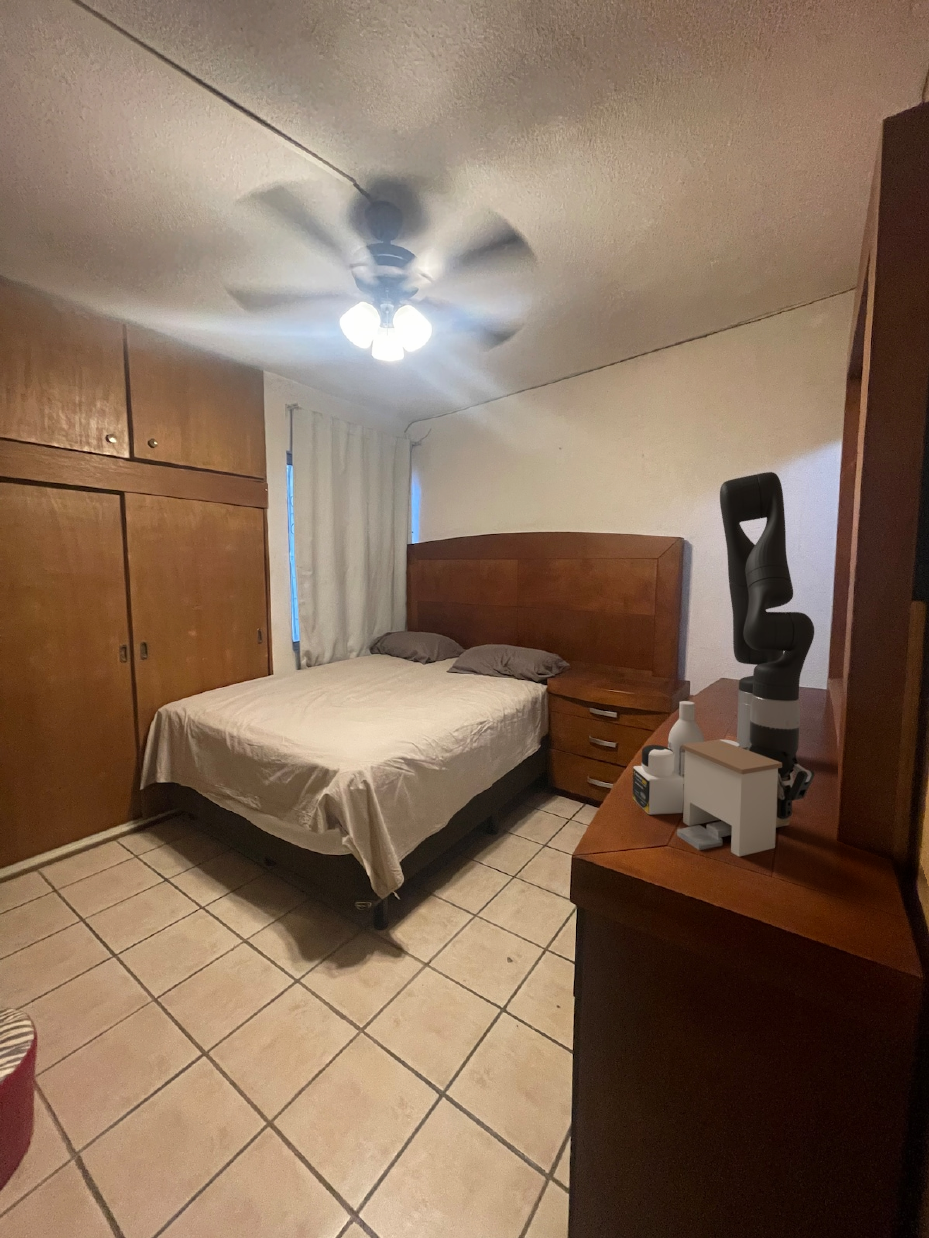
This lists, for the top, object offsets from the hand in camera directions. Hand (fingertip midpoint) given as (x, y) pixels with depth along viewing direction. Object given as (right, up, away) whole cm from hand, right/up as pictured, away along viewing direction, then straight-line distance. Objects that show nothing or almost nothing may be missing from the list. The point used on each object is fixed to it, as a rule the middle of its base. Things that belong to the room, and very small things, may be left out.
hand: (770, 811), depth 87 cm
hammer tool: (-6, -2, -2) cm, 6 cm away
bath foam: (-10, -2, +13) cm, 16 cm away
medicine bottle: (-18, -2, +8) cm, 20 cm away
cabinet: (-10, -3, -3) cm, 11 cm away
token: (-16, -3, -5) cm, 17 cm away
